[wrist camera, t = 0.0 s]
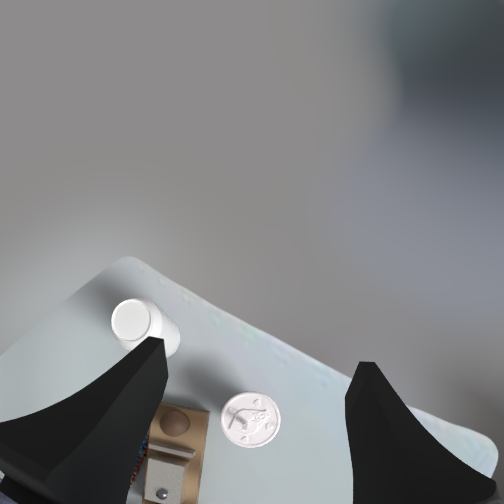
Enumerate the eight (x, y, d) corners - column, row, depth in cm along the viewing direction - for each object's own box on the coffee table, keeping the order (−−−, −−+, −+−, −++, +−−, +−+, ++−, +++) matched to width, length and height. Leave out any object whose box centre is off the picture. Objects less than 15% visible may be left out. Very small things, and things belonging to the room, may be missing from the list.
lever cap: (184, 499, 31) (178, 509, 27) (152, 491, 31) (143, 499, 27) (189, 460, 33) (183, 467, 30) (156, 453, 33) (147, 459, 30)
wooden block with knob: (196, 511, 32) (187, 528, 26) (148, 500, 33) (133, 514, 27) (209, 411, 39) (202, 415, 33) (160, 401, 39) (145, 403, 33)
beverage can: (187, 325, 44) (165, 302, 33) (173, 366, 41) (146, 357, 30) (148, 312, 45) (117, 286, 34) (134, 351, 42) (98, 336, 31)
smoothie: (219, 401, 39) (203, 407, 27) (262, 383, 40) (267, 380, 28) (239, 442, 37) (232, 466, 24) (282, 423, 38) (296, 439, 25)
